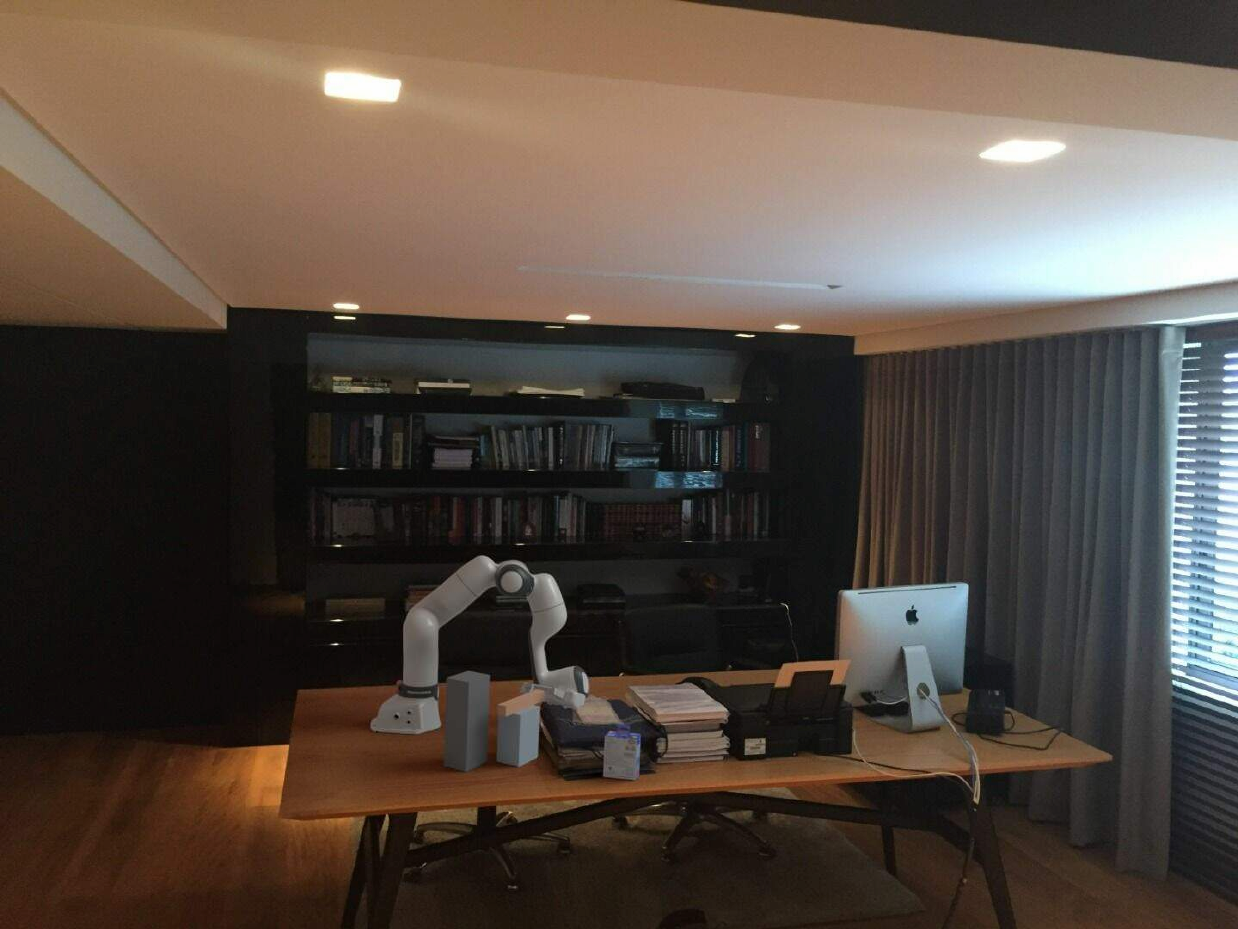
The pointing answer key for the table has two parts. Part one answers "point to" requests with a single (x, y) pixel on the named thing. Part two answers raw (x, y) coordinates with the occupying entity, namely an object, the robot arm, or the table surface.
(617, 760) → the ink cartridge box
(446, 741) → the tall stand
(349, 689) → the table surface
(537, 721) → the low block
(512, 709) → the bar
